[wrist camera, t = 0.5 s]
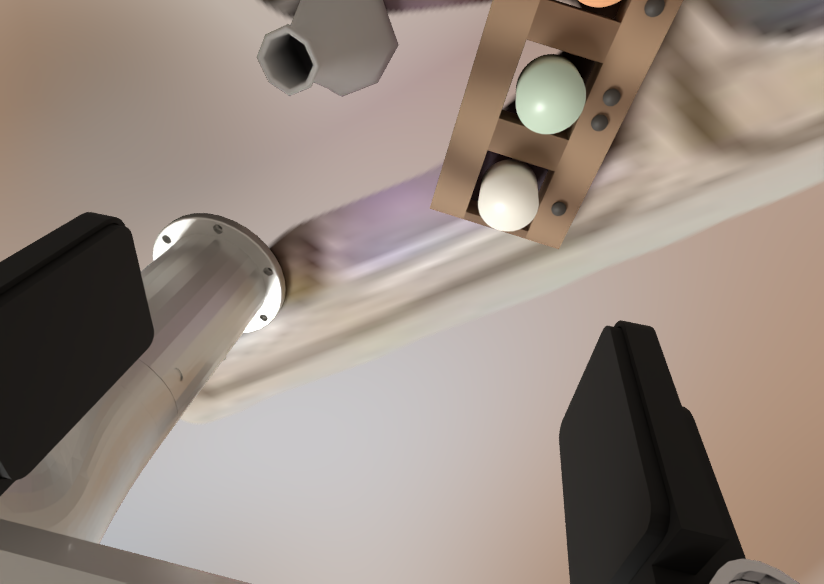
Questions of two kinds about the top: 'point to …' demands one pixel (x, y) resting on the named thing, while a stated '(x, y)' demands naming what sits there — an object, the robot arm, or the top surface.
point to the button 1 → (508, 195)
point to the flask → (330, 47)
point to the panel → (564, 151)
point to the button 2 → (549, 94)
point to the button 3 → (599, 2)
